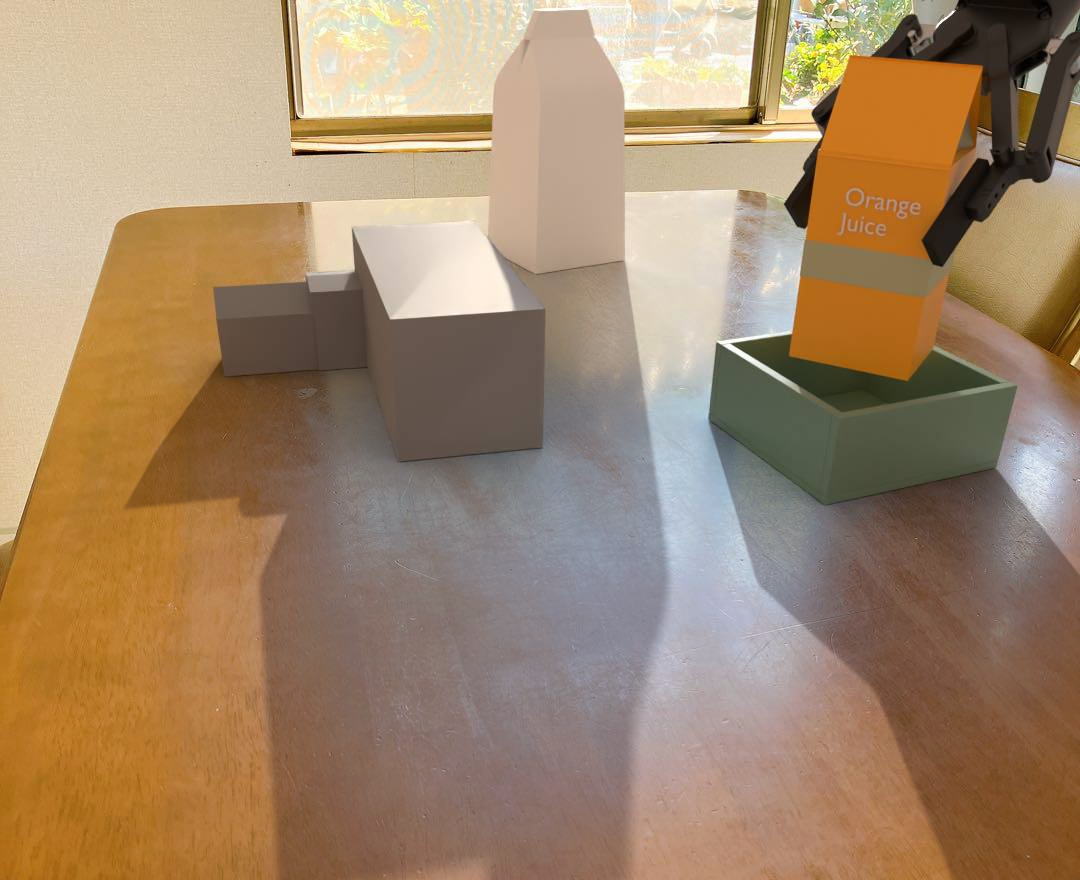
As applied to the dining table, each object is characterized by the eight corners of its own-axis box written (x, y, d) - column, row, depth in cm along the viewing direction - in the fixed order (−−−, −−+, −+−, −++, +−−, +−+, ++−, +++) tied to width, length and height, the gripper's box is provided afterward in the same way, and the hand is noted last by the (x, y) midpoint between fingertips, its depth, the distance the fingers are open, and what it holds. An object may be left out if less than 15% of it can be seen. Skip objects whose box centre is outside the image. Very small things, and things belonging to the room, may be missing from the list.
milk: (535, 274, 120) (539, 15, 107) (487, 248, 129) (485, 6, 115) (624, 260, 125) (639, 12, 112) (573, 236, 134) (580, 3, 121)
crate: (996, 467, 81) (1018, 385, 77) (824, 505, 75) (840, 418, 72) (863, 391, 93) (877, 317, 89) (707, 419, 87) (715, 341, 84)
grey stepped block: (223, 354, 98) (207, 233, 92) (476, 335, 103) (474, 220, 97) (226, 478, 77) (204, 332, 71) (542, 447, 82) (545, 308, 77)
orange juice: (908, 381, 75) (971, 72, 65) (787, 356, 79) (829, 60, 69) (934, 348, 81) (996, 59, 71) (821, 326, 85) (864, 49, 75)
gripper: (881, -77, 79) (712, 168, 79) (1208, -65, 64) (1001, 239, 63) (909, 1, 85) (753, 230, 84) (1216, 29, 70) (1027, 309, 69)
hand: (859, 234), depth 74 cm, fingers closed on orange juice, 11 cm apart
